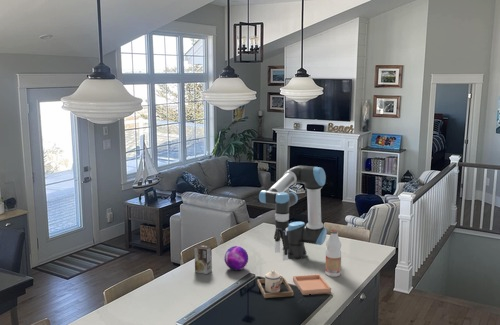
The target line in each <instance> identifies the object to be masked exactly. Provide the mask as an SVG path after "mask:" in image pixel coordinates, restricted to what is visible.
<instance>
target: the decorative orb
mask: <svg viewBox="0 0 500 325" xmlns="http://www.w3.org/2000/svg"><path fill="white" fill-rule="evenodd" d="M248 261H249V254H248V252H247V250H246V249H245V248H244V247H241V246H238V245H233V246H231V247H229V248H228V249H227V251H225V254H224V262H225V265H226V266H227V267H228V268H229V269H231V270H233V271H240V270H242V269H244V268H245V267H246V266H247V264H248Z"/></svg>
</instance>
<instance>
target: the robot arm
mask: <svg viewBox="0 0 500 325" xmlns="http://www.w3.org/2000/svg"><path fill="white" fill-rule="evenodd" d="M326 177H327V175H326V172H325V170H324V168H323V167H320V166H319V167H318V166H309V165H297V166H293V167H291V168H288V169H287V170H286V171H285V172H284V173H283V174H282V177H281V178H280V179H278V180H277V181H276V182H275V183H273V185H272V186H271V187H270V188H268V189H264V190H261V191H260V192H259V194H258V200H259V202H260V203H263V204H267V205H269V204H270V205H275V214H274V219H275V223H274V226H275V231H274V235H273V239H274V242H275V244H274V245H275V246H274V252H275V253H281V243H282V262H283V261H288V260H289V259H293V260H300V259H304V258H307V256H308V255H307V249H306V246H305V243H306V244H311V245H316V246H317V245H318V246H322V245H323V244H324V243H325V242H326V240H327V239H326V238H327V233H328V230H327V228H326V227H325V226H324V223H323V222H322V204H321V202H322V200H321V189H323V187H324V186H325V184H326V180H327V179H326ZM295 184H303V185H304V189H305V190H306V195H307V196H306V197H307V200H306V201H307V221H308V222H307V223H305V222H304V221H292V222H290V221H289V220H290V208H291V207H292V206H295V204H297V203H298V200H299V199H298V198H299V197H298V195H297V194H296V193H295V192H294V191H289V192H286V190H288V188H290V187H291V186H293V185H295ZM289 222H290V223H289ZM286 229H287V230H286ZM281 241H282V242H281Z"/></svg>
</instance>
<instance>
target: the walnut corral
mask: <svg viewBox="0 0 500 325" xmlns="http://www.w3.org/2000/svg"><path fill="white" fill-rule="evenodd" d="M280 281H281V277H280ZM282 283H283V284H284V285H285V287H286V289H287V290H288V291H279V292H276V293H270V292H266V290H265V288H263V285H262V284H265V278H258V279H256V284H257V286H258V288H259V290H260V292H261V294H262V296H263V298H264V299H268V298H269V299H270V298H283V297H293V296H294V290H293V289H292V287H291V286H290V284H289V283H288V281H287V279H286V278H285V277H283V281H282Z"/></svg>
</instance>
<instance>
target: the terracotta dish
mask: <svg viewBox="0 0 500 325" xmlns="http://www.w3.org/2000/svg"><path fill="white" fill-rule="evenodd" d="M292 281H293V283H294V285H295V286H296V288H297V290H298V291H299V290H300V291H299V292H300V293H301V295H302V296H310V295H309V294H311V295H321V294H331V293H332V288H331V286H329V284H328V283H327V282H326V281H325V280H324V278H323V277H322V276H321V274H311V275H310V274H308V275H306V274H304V275H294V276H292Z"/></svg>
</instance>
